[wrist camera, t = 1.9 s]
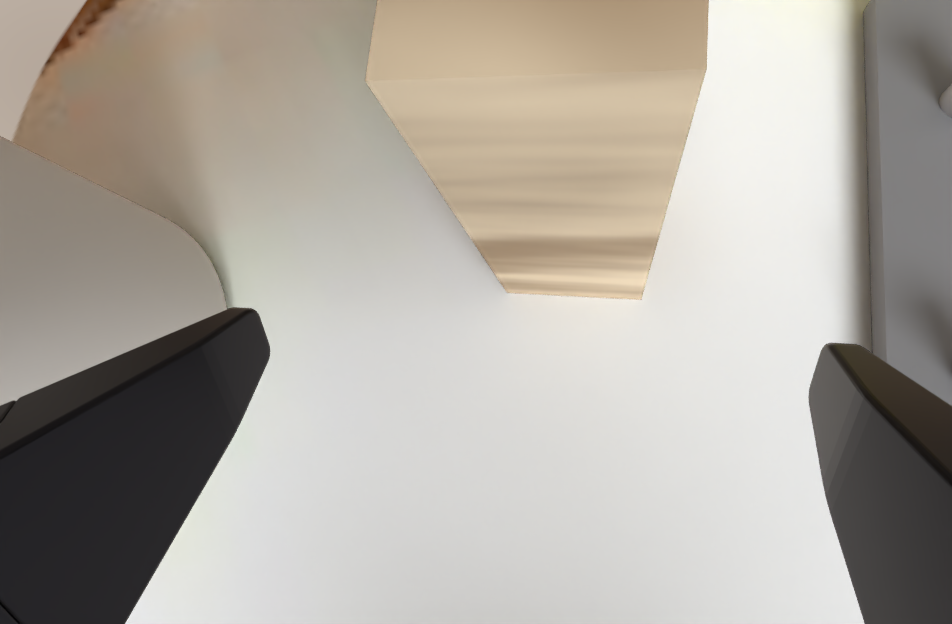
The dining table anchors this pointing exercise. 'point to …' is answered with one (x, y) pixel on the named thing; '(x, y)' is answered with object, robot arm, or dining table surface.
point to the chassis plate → (910, 186)
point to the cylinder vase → (86, 274)
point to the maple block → (547, 126)
